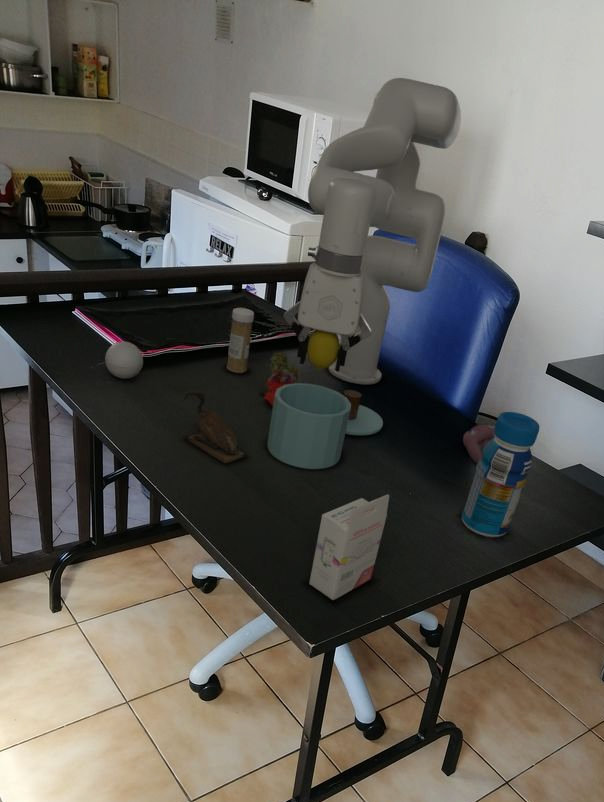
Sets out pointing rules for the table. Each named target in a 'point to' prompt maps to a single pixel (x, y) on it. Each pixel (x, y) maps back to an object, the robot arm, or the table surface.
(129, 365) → the white sphere
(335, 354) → the lemon
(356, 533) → the ink cartridge box
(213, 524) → the table surface
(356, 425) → the lid
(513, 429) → the beverage bottle
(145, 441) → the table surface
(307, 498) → the table surface
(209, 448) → the figurine
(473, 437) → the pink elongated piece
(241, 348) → the sprinkles bottle
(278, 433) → the pot
